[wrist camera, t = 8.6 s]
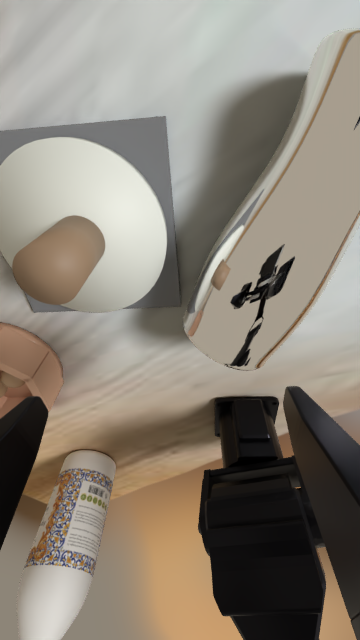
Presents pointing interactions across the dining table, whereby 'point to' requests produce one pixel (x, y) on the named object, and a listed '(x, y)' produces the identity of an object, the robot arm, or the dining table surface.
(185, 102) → the dining table surface
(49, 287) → the lid
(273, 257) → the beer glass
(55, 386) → the bowl
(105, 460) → the bath foam
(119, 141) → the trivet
